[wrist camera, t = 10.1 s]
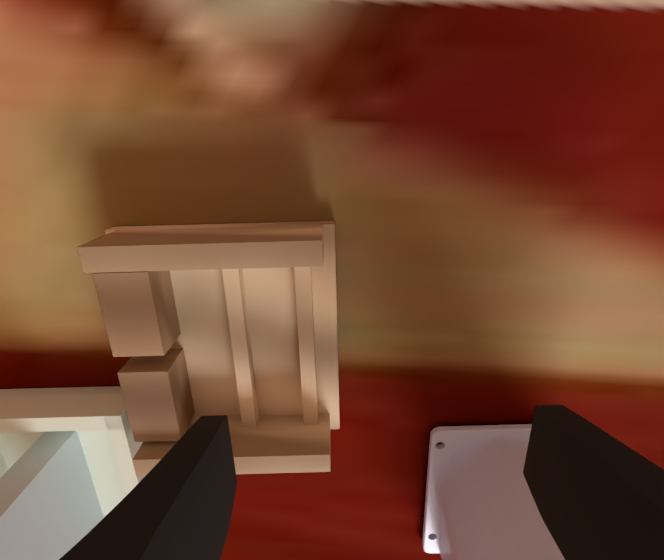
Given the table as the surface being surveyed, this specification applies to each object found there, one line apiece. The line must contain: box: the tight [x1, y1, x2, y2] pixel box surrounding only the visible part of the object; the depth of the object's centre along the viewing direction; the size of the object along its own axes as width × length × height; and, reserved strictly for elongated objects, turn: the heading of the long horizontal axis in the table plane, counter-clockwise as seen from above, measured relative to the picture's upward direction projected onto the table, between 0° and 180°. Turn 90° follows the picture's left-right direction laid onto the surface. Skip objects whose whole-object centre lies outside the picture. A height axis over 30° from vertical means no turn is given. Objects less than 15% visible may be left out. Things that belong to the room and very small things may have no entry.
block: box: [0, 431, 104, 560], centre depth 19 cm, size 8×2×6 cm, turn 1°
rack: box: [77, 221, 340, 477], centre depth 18 cm, size 11×10×4 cm
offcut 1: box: [93, 271, 181, 357], centre depth 17 cm, size 4×2×2 cm, turn 1°
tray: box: [0, 386, 144, 517], centre depth 22 cm, size 12×9×2 cm
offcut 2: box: [117, 348, 195, 442], centre depth 19 cm, size 4×2×2 cm, turn 1°
